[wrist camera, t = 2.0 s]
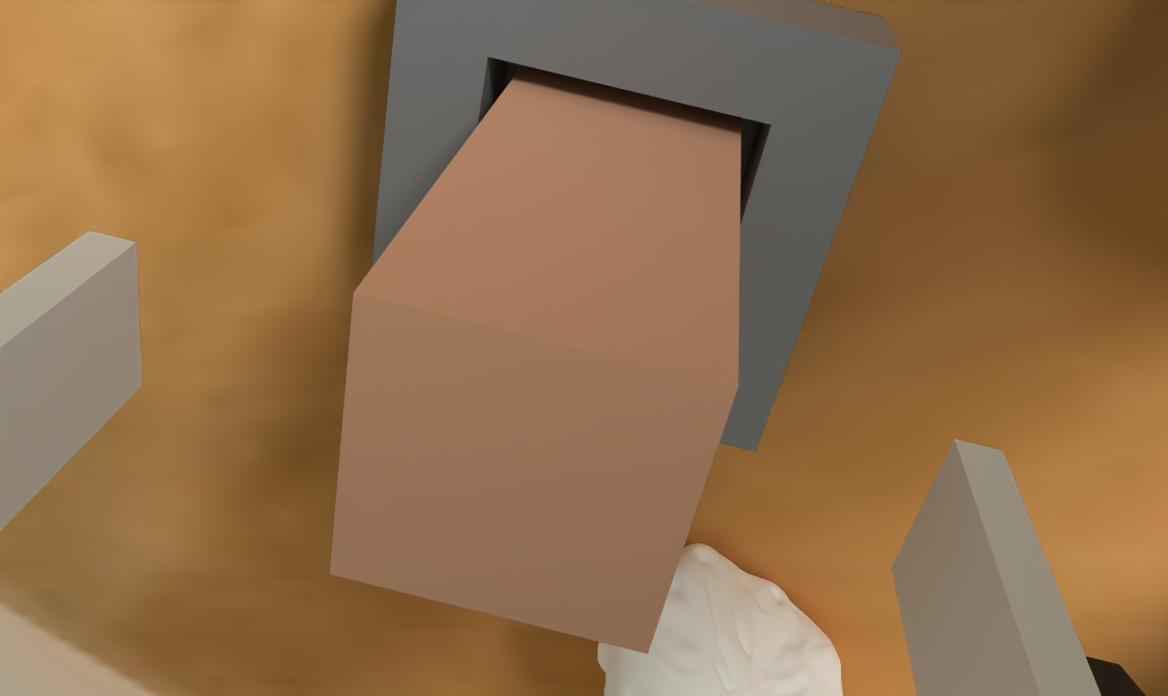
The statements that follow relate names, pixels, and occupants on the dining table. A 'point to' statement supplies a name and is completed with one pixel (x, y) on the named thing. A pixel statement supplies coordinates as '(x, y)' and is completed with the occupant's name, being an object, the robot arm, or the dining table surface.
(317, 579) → the dining table surface
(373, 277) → the block
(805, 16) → the holder
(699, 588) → the bust
